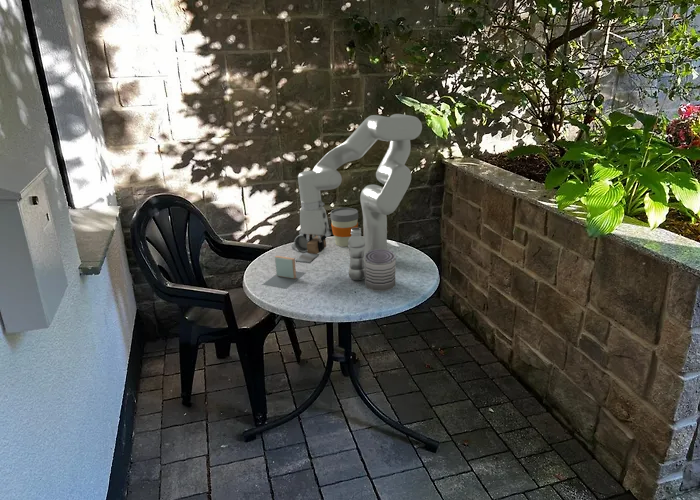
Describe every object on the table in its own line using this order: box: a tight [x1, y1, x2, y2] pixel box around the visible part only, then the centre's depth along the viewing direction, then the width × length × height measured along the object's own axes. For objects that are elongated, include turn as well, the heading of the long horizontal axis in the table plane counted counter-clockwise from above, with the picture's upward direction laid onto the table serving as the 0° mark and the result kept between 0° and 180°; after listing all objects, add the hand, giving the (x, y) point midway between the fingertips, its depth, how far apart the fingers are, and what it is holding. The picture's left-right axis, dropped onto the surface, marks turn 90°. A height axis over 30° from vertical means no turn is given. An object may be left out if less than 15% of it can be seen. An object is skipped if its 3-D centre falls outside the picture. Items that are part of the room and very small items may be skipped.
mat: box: [261, 270, 306, 290], centre depth 188 cm, size 10×15×1 cm
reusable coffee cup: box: [329, 207, 359, 248], centre depth 220 cm, size 13×13×15 cm
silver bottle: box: [347, 227, 365, 281], centre depth 183 cm, size 6×7×20 cm
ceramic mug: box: [290, 233, 316, 253], centre depth 217 cm, size 11×8×8 cm
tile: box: [274, 255, 297, 279], centre depth 188 cm, size 8×2×8 cm, turn 66°
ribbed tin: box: [364, 249, 397, 293], centre depth 179 cm, size 11×11×12 cm
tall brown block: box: [295, 235, 327, 264], centre depth 185 cm, size 16×6×4 cm, turn 156°
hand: (316, 249), depth 189 cm, fingers closed on tall brown block, 3 cm apart
